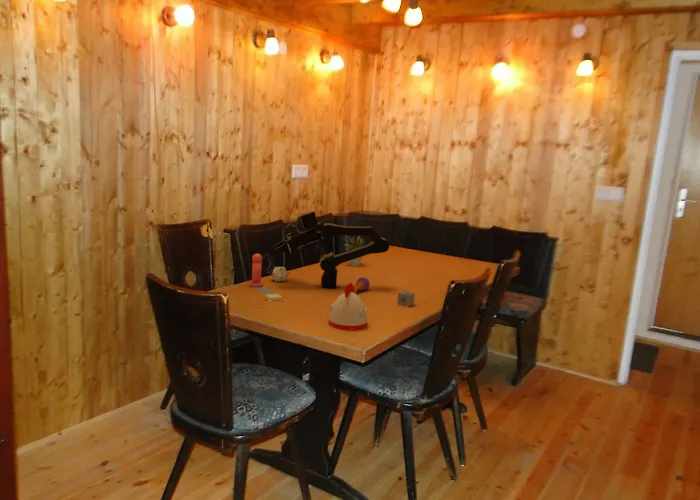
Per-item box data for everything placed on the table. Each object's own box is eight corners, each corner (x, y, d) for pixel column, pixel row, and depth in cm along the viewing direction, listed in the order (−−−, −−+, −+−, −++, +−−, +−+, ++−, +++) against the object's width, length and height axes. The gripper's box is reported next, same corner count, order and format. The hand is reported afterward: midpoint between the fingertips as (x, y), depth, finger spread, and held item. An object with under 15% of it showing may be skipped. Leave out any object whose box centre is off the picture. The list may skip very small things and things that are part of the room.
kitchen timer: (322, 326, 199) (324, 284, 196) (337, 316, 211) (339, 277, 209) (359, 332, 194) (362, 290, 191) (372, 322, 207) (375, 282, 204)
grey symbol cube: (408, 307, 229) (409, 295, 228) (397, 304, 232) (398, 293, 231) (413, 304, 233) (414, 292, 232) (402, 302, 236) (403, 290, 235)
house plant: (343, 261, 313) (345, 232, 310) (368, 263, 311) (370, 234, 308) (339, 266, 299) (341, 235, 296) (365, 268, 297) (367, 237, 294)
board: (243, 286, 247) (243, 283, 247) (261, 284, 251) (261, 282, 251) (268, 301, 225) (268, 299, 224) (288, 299, 229) (288, 297, 229)
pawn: (264, 284, 248) (265, 252, 245) (261, 287, 242) (262, 255, 240) (251, 283, 248) (252, 252, 246) (248, 286, 243) (249, 254, 240)
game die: (281, 291, 256) (285, 277, 249) (265, 283, 257) (268, 269, 250) (290, 279, 262) (294, 265, 255) (274, 271, 263) (277, 257, 256)
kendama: (340, 288, 237) (358, 276, 255) (342, 302, 238) (360, 288, 256) (353, 288, 235) (370, 275, 253) (355, 301, 236) (372, 288, 254)
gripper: (300, 217, 257) (268, 229, 257) (301, 223, 239) (266, 235, 238) (309, 240, 259) (276, 251, 259) (310, 247, 241) (275, 260, 241)
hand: (273, 249), depth 249 cm, fingers open, 9 cm apart
